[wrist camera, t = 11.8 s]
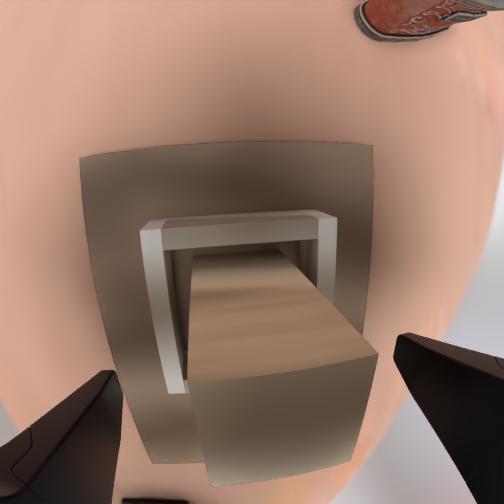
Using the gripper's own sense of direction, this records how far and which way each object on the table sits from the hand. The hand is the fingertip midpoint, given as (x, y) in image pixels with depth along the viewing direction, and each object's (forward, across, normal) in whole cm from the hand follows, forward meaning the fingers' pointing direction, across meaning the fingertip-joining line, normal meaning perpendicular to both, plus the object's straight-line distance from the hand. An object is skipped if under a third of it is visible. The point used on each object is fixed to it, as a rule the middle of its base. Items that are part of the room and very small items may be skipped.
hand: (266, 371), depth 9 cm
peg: (+6, 0, 0) cm, 7 cm away
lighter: (+8, -11, -16) cm, 21 cm away
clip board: (+8, 0, +3) cm, 8 cm away
